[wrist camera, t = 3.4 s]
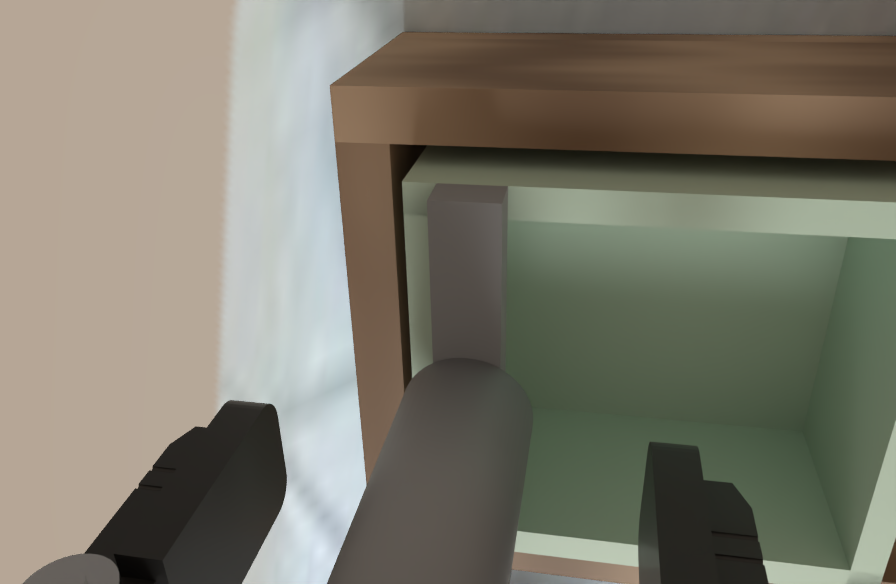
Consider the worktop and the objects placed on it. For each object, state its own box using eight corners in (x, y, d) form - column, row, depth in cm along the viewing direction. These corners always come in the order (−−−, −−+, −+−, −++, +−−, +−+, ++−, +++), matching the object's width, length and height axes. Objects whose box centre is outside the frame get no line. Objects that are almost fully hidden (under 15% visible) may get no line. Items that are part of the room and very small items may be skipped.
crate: (898, 117, 16) (1411, 548, 6) (818, 438, 20) (1040, 1043, 9) (454, 106, 18) (230, 427, 7) (459, 405, 21) (318, 892, 11)
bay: (1462, 40, 15) (1863, 116, 10) (1209, 490, 20) (1396, 682, 15) (403, 31, 18) (330, 85, 13) (421, 415, 23) (372, 551, 19)
